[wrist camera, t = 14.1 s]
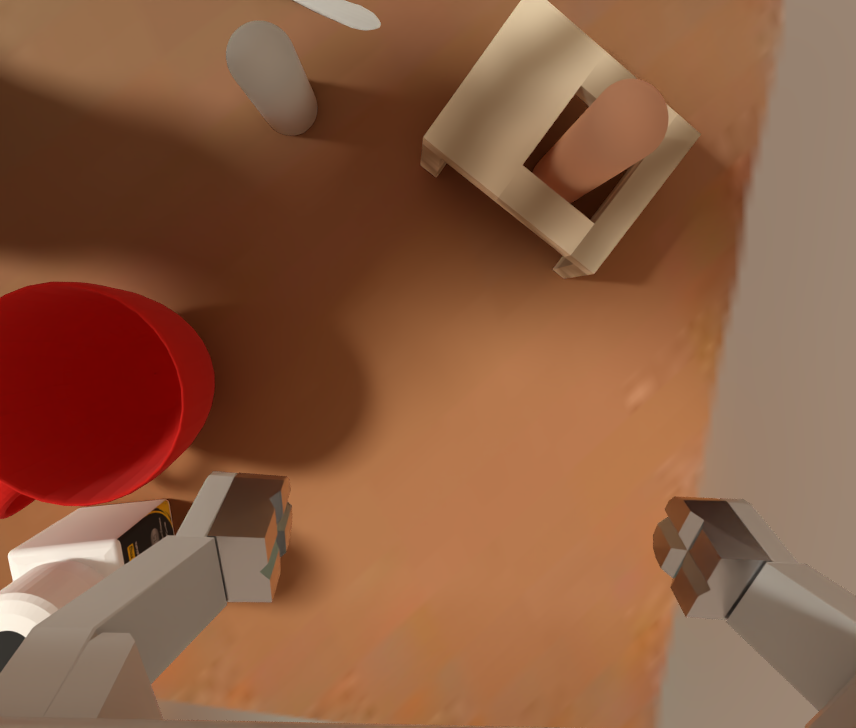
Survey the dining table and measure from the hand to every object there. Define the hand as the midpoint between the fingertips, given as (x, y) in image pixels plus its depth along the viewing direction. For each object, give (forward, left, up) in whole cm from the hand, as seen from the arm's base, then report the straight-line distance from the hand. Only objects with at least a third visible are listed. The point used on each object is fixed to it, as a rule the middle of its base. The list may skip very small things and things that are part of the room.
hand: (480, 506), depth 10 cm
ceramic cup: (-16, -15, -28) cm, 35 cm away
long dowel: (0, +17, -28) cm, 32 cm away
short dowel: (-19, +9, -28) cm, 35 cm away
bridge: (-2, +17, -28) cm, 32 cm away
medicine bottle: (-10, -26, -28) cm, 39 cm away
